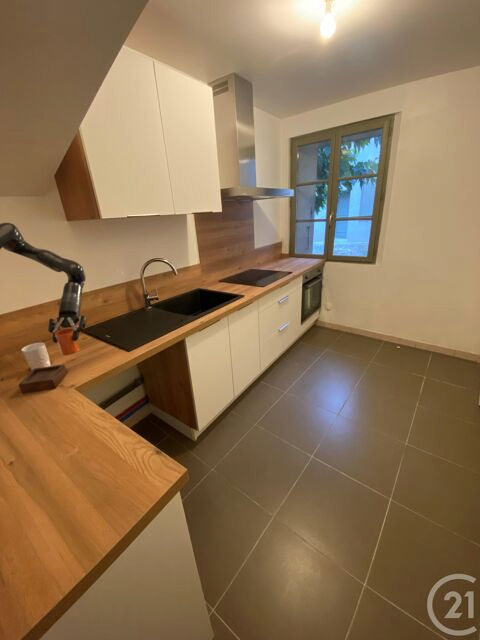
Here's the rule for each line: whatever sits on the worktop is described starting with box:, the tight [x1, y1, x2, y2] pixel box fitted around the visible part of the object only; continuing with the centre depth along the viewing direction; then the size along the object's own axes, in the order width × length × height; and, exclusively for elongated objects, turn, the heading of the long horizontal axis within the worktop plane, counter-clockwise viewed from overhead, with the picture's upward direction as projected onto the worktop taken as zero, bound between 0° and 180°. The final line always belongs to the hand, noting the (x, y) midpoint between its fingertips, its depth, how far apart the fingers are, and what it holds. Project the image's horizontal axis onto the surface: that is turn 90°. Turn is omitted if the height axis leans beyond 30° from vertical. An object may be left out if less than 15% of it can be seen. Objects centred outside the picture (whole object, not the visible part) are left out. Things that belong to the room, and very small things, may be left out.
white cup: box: [21, 341, 52, 371], centre depth 109 cm, size 8×8×10 cm
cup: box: [55, 328, 81, 356], centre depth 107 cm, size 7×7×9 cm
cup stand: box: [18, 363, 68, 395], centre depth 99 cm, size 11×11×4 cm
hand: (65, 341), depth 106 cm, fingers closed on cup, 6 cm apart
